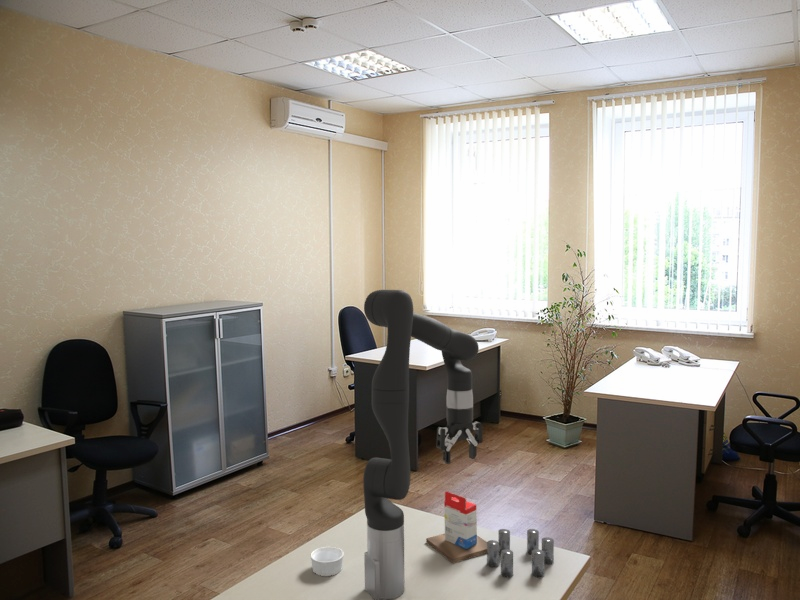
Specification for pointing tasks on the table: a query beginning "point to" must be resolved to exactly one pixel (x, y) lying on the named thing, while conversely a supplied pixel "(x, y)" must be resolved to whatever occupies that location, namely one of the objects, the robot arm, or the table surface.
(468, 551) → the walnut board
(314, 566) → the ramekin
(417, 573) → the table surface
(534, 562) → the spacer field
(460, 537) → the ink box
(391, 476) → the robot arm
